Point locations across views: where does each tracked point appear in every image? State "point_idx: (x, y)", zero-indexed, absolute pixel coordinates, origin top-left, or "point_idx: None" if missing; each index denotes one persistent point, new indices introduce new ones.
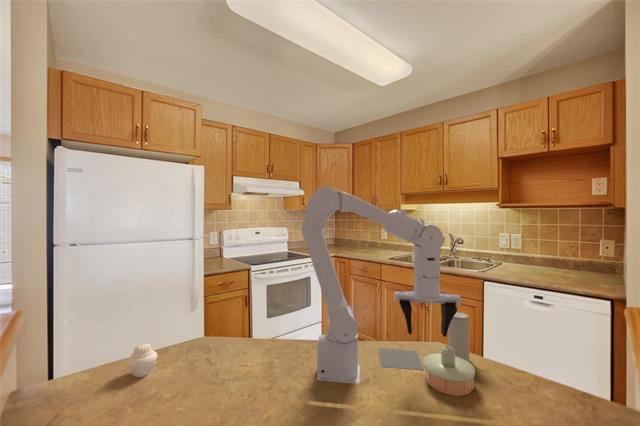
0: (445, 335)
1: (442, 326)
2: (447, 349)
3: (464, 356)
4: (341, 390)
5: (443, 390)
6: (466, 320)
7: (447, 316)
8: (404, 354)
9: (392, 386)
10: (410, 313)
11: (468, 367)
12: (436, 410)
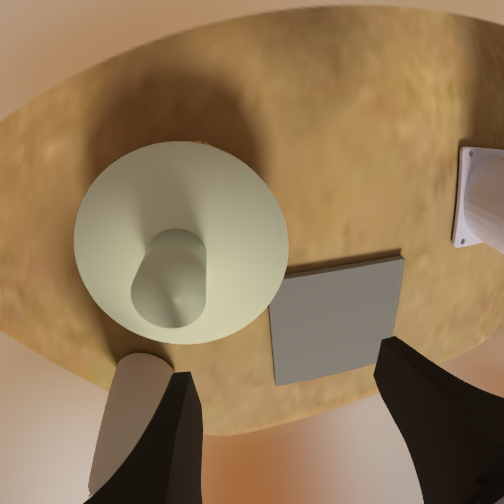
0: (177, 376)
1: (194, 432)
2: (171, 287)
3: (124, 372)
4: (486, 123)
5: (209, 144)
6: (93, 483)
7: (150, 488)
8: (318, 355)
9: (377, 162)
10: (474, 419)
11: (95, 257)
12: (245, 58)
